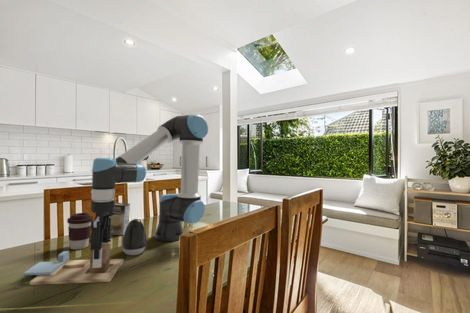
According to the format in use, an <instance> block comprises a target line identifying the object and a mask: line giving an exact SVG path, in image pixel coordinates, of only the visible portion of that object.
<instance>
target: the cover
mask: <svg viewBox="0 0 470 313" xmlns="http://www.w3.org/2000/svg"><path fill="white" fill-rule="evenodd" d="M69 253H70V251H69V250H63V251H62V252H60V253H59V254H58V255H57V261H58V262H56V261H39V262H38V263H36V264H34V265H33V266H32V267H30V268H29V269H27V270H26V271H24V272H23V274H22V275H23V276H38V275H50V274H51V273H53V272H54V271H55V270H56V269H57V268H59V267H60V266H61V265H62V264H63V263H65V262H66V261H67V260H69V257H70V256H69V255H70V254H69Z"/></svg>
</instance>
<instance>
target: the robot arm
mask: <svg viewBox="0 0 470 313" xmlns="http://www.w3.org/2000/svg"><path fill="white" fill-rule="evenodd" d="M208 132H209V125H208V122H207V120H206V119H205V117H204V116H203V115H201V114H187V115H178V116H175V117H174V116H173V117H172V118H170V119H169V120H166V121H165V122H164V123H162V124H160V125H159V126H158V127H157V129H156V131H154V132H153V133H151V134H150V135H148V136H147V137H146V138H144V139H143V140H141V141H139V142H138V143H137V144H136V145H134V146H132V147H130V148H129V149H128V150H127V151H125V152H124V153H122V154H121V155H119V156H118V157H116V158H111V157H109V158H106V157H95V159H94V160H93V162H92V169H91V174H92V175H91V176H92V177H91V180H92V181H91V182H92V183H91V191H90V194H91V200H92V201H91V202H90V212H91V213H95V216H94V217H93V221H91V232H90V248H89V249H90V251H91V250H93V268H101V267H102V248H101V246H102V244H109V243H111V234H110V232H111V216H112V213H109V212H110V211H113V210H114V203H115V200H114V199H115V198H116V195H115V194H116V184H121V183H122V184H123V183H124V184H127V183H138V182H139V183H140V182H143V181H144V180H145V178H146V176H147V170H146V167H145V166H144V164H141V162H142V161H143V160H146V158H148V157H150V156H151V155H152V154H153V153H154V152H156V151H157V150H159V149H160V148H161V147H162V146H164V145H165V144H167V143H168V144H169V143H171V142H173V141H174V140H177V139H179V142H180V143H181V145H182V146H181V147H182V148H181V171H180V173H181V174H180V192H179V193H166V194H162V195H160V197H159V206H158V208H159V209H158V210H159V212H158V215H159V216H158V225H157V226H156V228H155V232H154V238H155V240H157V241H160V242H174V241H175V242H176V241H179V236H180V235H181V234H183V233H184V234H185V232H184V229H183V228H184V226H183V225H182V224H183V223H186V224H191V225H193V224H197V223H198V222H200V221H201V220H202V218H203V217H204V215H205V210H206V206H205V203H204V202H203V201H202V200H201V199H202V198H201V197H202V196H201V194H200V193H199V192H198V191H199V175H200V174H199V172H200V171H199V169H200V148H201V147H200V146H201V144H202V143H203V142H204V138H205V137H206V136H207V135H208ZM182 222H183V223H182Z"/></svg>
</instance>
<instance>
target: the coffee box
mask: <svg viewBox="0 0 470 313" xmlns="http://www.w3.org/2000/svg"><path fill="white" fill-rule="evenodd" d="M130 209H131V204H130V203H125V202H124V203H123V202H114V210H113V211H110V212H109V213H112V216H111V232H110V236H112V235H113V236H124V233H125V230H126V227H127V225H128V224H129V222H130V211H131V210H130Z"/></svg>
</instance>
